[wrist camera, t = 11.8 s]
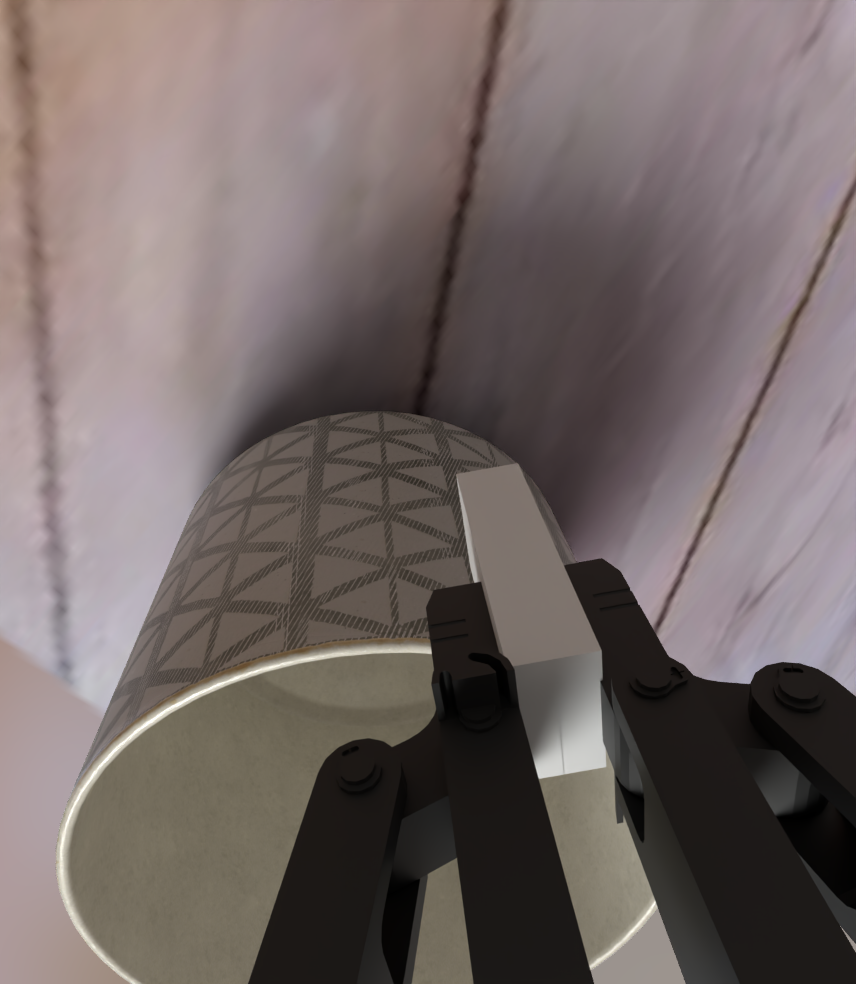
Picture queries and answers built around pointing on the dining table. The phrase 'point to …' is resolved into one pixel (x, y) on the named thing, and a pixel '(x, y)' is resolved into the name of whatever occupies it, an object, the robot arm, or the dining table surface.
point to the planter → (297, 705)
